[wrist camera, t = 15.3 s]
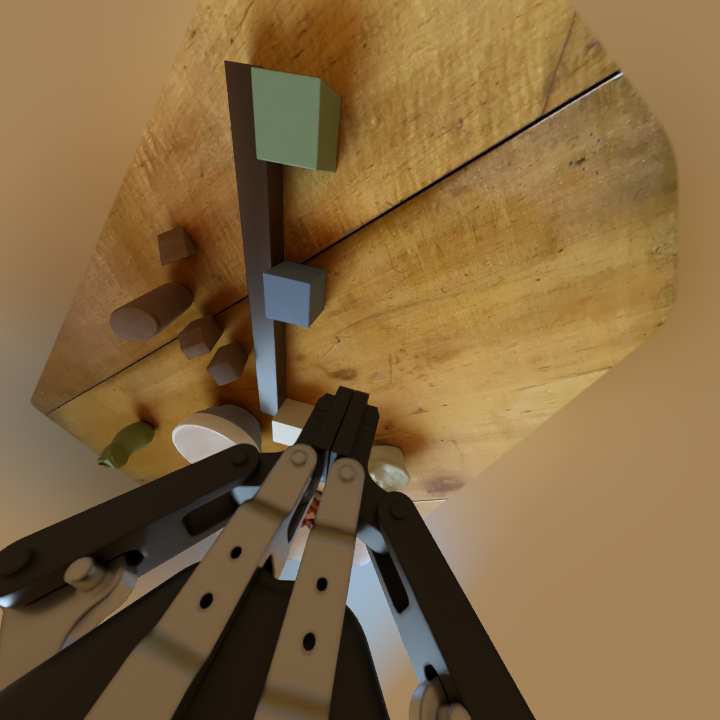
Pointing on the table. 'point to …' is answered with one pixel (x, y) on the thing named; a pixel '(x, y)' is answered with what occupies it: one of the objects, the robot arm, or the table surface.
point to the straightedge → (258, 234)
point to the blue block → (294, 293)
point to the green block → (295, 119)
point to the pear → (126, 444)
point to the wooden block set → (169, 303)
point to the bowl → (215, 431)
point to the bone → (388, 468)
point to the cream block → (290, 421)
